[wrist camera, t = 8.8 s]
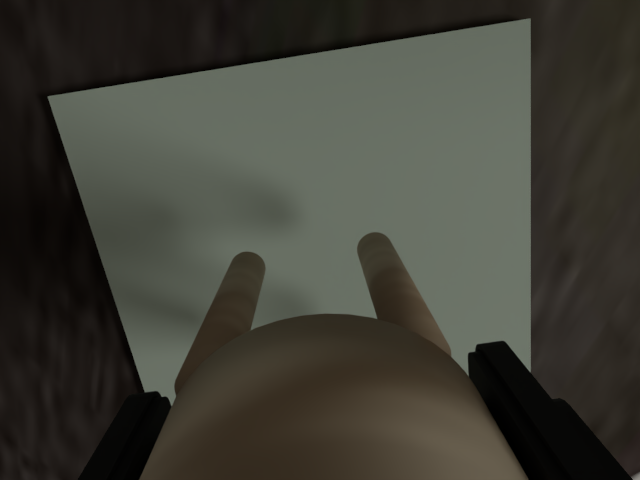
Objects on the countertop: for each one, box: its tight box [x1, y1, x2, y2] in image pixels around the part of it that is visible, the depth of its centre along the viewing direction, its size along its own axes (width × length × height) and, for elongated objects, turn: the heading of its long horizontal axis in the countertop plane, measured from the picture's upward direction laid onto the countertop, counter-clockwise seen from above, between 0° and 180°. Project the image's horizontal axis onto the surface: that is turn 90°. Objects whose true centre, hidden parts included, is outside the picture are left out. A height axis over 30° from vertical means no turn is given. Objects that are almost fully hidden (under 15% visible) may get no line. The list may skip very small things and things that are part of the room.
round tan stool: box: [139, 232, 529, 480], centre depth 10 cm, size 6×6×9 cm
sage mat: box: [47, 18, 531, 407], centre depth 17 cm, size 16×16×1 cm
